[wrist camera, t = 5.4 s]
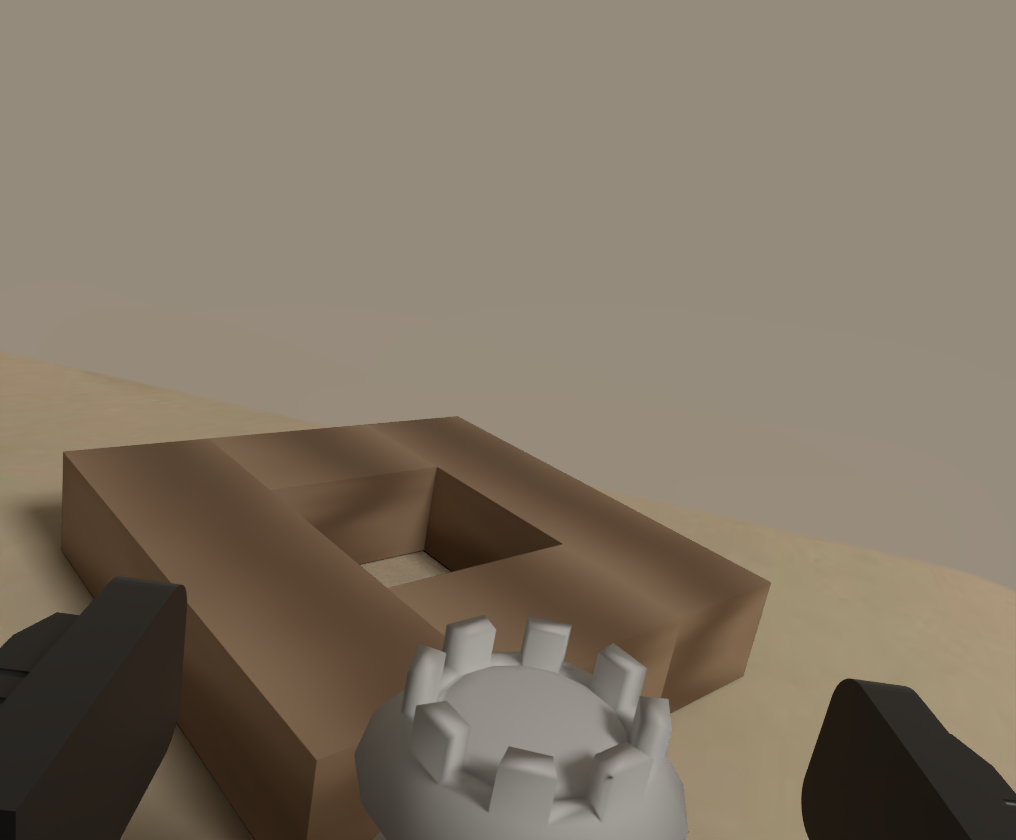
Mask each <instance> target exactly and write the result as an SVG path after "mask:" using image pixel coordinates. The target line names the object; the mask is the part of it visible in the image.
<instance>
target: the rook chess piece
mask: <svg viewBox="0 0 1016 840" xmlns="http://www.w3.org/2000/svg"><path fill="white" fill-rule="evenodd" d="M571 628H572V625H571V624H566V623H561V622H557V621H552V620H548V619H543V618H538V617H534V616H529V615H528V617H527V622H526V627H525V632H524V637H523V642H522V647H521V651H496V652H492V649H493V644H494V639H495V633H496V629H495V627H494V626H493V625H492V624H491V622H490V621H489V620H488V618H487V617H486V616H485V615H482V616H478V617H474V618H470V619H466V620H462V621H458V622H454V623H450V624H447V626H446V632H445V638H444V644H443V649H442V651H439V650H436V649H434V648H431V647H428V646H425V645H422V644H419V646H418V648H417V650H416V653H415V655H414V657H413V660H412V662H411V664H410V667H409V669H408V672H407V678H406V684H405V689H404V690H403V691H401V692H400V693H399V694H397V695H396V696H395V697H393V698H392V699H391V700H389V701H388V702H387V703H385V704H384V705H383V706H382V707H380V708H379V709H378V710H376V711H375V712H374V713H373V714H372V716H371V718H370V720H369V722H368V725H367V727H366V729H365V731H364V733H363V736H362V738H361V740H360V742H359V744H358V747H357V749H356V751H355V753H354V757H355V764H356V772H357V779H358V786H359V794H360V801H361V805H362V806H363V808H364V809H365V810H366V812H367V813H368V815H369V816H370V817H371V819H372V820H373V822H374V823H375V824H376V826H377V827H378V829H379V830H380V831H381V832H380V833H379V834H378V835H377V836H376V837H374V840H685V838H686V836H687V834H688V823H687V815H686V806H685V797H684V789H683V784H682V782H681V780H680V778H679V776H678V774H677V773H676V771H675V769H674V767H673V765H672V763H671V762H670V760H669V758H668V756H667V754H666V751H667V747H668V744H669V740H670V736H671V733H672V727H671V718H670V708H669V699H664V698H654V697H645V696H640V695H641V691H642V687H643V683H644V680H645V676H646V672H647V668H646V667H645V666H643V665H642V664H641V663H639V662H638V661H637V660H635V659H634V658H633V657H631V656H630V655H629V654H627V653H626V652H625V651H623V650H622V649H621V648H619V647H618V646H617V645H615V644H614V643H613V644H611V645H609V646H608V647H606V648H604V649H603V650H601V651H599V652H598V655H597V660H596V664H595V668H594V672H593V674H591V673H589V672H587V671H585V670H583V669H580V668H578V667H576V666H574V665H572V664H570V663H567V662H565V661H564V660H565V656H566V651H567V646H568V642H569V637H570V633H571Z"/></svg>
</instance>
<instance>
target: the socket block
mask: <svg viewBox="0 0 1016 840" xmlns="http://www.w3.org/2000/svg"><path fill="white" fill-rule="evenodd" d="M61 549H62V551H63V552H64V554H65V555H66V557H67V558H68V560H69V561H70V563H71V564H72V566H73V567H74V569H75V570H76V572H77V573H78V575H79V576H80V578H81V579H82V581H83V582H84V584H85V585H86V587H87V588H88V590H89V591H90V593H91V594H92V596H93V597H94V599H95V598H96V597H97V596H98V594H99V593H100V592H101V591H102V590H103V589H104V588H105V586H106V585H107V584H108V583H109V582H110V581H111V580H112V579H113V578H115V577H116V576H124V577H131V578H138V579H145V580H153V581H160V582H167V583H174V584H182V585H184V587H185V588H186V592H187V614H186V629H185V643H184V658H183V672H182V687H181V699H180V707H179V712H178V717H177V721H176V722H177V723H178V725H179V726H180V728H181V729H182V731H183V732H184V734H185V735H186V737H187V738H188V740H189V741H190V743H191V744H192V746H193V747H194V749H195V750H196V752H197V753H198V755H199V756H200V758H201V759H202V761H203V762H204V764H205V765H206V767H207V768H208V770H209V771H210V773H211V774H212V776H213V777H214V779H215V780H216V782H217V783H218V785H219V786H220V788H221V789H222V791H223V792H224V794H225V795H226V797H227V798H228V800H229V801H230V803H231V804H232V806H233V807H234V809H235V810H236V812H237V813H238V815H239V816H240V818H241V819H242V821H243V822H244V824H245V825H246V827H247V828H248V830H249V831H250V833H251V834H252V836H253V837H254V839H255V840H374V837H376V836H377V835H378V834H379V833H380V832H381V831H380V830H379V829H378V827H377V826H376V824H375V823H374V822H373V820H372V819H371V817H370V816H369V815H368V813H367V812H366V810H365V809H364V808H363V806H362V805H361V801H360V794H359V786H358V779H357V772H356V764H355V757H354V753H355V751H356V749H357V747H358V744H359V742H360V740H361V738H362V736H363V733H364V731H365V729H366V727H367V725H368V722H369V720H370V718H371V716H372V714H373V713H374V712H375V711H376V710H378V709H379V708H380V707H382V706H383V705H384V704H385V703H387V702H388V701H389V700H391V699H392V698H393V697H395V696H396V695H397V694H399V693H400V692H401V691H403V690H404V689H405V684H406V678H407V672H408V669H409V667H410V664H411V662H412V660H413V657H414V655H415V653H416V650H417V648H418V646H419V644H422V645H425V646H428V647H431V648H434V649H436V650H439V651H442V649H443V644H444V638H445V632H446V626H447V624H450V623H454V622H458V621H462V620H466V619H470V618H474V617H478V616H482V615H485V616H486V617H487V618H488V620H489V621H490V622H491V624H492V625H493V626H494V627H495V629H496V633H495V639H494V644H493V649H492V652H496V651H521V647H522V642H523V637H524V632H525V627H526V622H527V617H528V615H529V616H534V617H538V618H543V619H548V620H552V621H557V622H561V623H566V624H571V625H572V628H571V633H570V637H569V642H568V646H567V651H566V656H565V660H564V661H565V662H567V663H570V664H572V665H574V666H576V667H578V668H580V669H583V670H585V671H587V672H589V673H591V674H593V672H594V668H595V664H596V660H597V655H598V652H599V651H601V650H603V649H604V648H606V647H608V646H609V645H611V644H613V643H614V644H615V645H617V646H618V647H619V648H621V649H622V650H623V651H625V652H626V653H627V654H629V655H630V656H631V657H633V658H634V659H635V660H637V661H638V662H639V663H641V664H642V665H643V666H645V667H646V668H647V672H646V676H645V680H644V683H643V687H642V691H641V695H640V696H645V697H654V698H664V699H669V708H670V713H672V712H674V711H676V710H678V709H680V708H682V707H684V706H685V705H687V704H689V703H691V702H693V701H695V700H697V699H699V698H701V697H703V696H705V695H707V694H709V693H711V692H713V691H715V690H717V689H719V688H721V687H722V686H724V685H726V684H728V683H730V682H732V681H734V680H736V679H738V678H740V677H742V676H743V675H744V672H745V668H746V665H747V662H748V658H749V655H750V652H751V648H752V645H753V642H754V638H755V635H756V632H757V628H758V625H759V621H760V618H761V615H762V611H763V608H764V605H765V601H766V598H767V595H768V591H769V588H770V585H771V582H769V581H767V580H765V579H763V578H762V577H760V576H758V575H756V574H754V573H752V572H750V571H748V570H746V569H745V568H743V567H741V566H739V565H737V564H735V563H733V562H731V561H729V560H728V559H726V558H724V557H722V556H720V555H718V554H716V553H714V552H713V551H711V550H709V549H707V548H705V547H703V546H701V545H699V544H697V543H696V542H694V541H692V540H690V539H688V538H686V537H684V536H682V535H680V534H679V533H677V532H675V531H673V530H671V529H669V528H667V527H665V526H663V525H662V524H660V523H658V522H656V521H654V520H652V519H650V518H648V517H647V516H645V515H643V514H641V513H639V512H637V511H635V510H633V509H631V508H630V507H628V506H626V505H624V504H622V503H620V502H618V501H616V500H614V499H613V498H611V497H609V496H607V495H605V494H603V493H601V492H599V491H598V490H596V489H594V488H592V487H590V486H588V485H586V484H584V483H582V482H581V481H579V480H577V479H575V478H573V477H571V476H569V475H567V474H565V473H564V472H561V471H560V470H558V469H556V468H554V467H552V466H550V465H549V464H547V463H545V462H543V461H541V460H539V459H537V458H535V457H533V456H532V455H530V454H528V453H526V452H524V451H522V450H520V449H518V448H516V447H515V446H513V445H511V444H509V443H507V442H505V441H503V440H501V439H499V438H497V437H496V436H494V435H492V434H490V433H488V432H486V431H484V430H483V429H480V428H479V427H477V426H475V425H473V424H471V423H469V422H467V421H465V420H464V419H462V418H460V417H458V416H456V417H446V418H435V419H423V420H411V421H400V422H389V423H378V424H368V425H356V426H344V427H333V428H322V429H311V430H300V431H289V432H277V433H266V434H255V435H244V436H233V437H222V438H211V439H199V440H188V441H177V442H166V443H155V444H144V445H133V446H121V447H110V448H99V449H88V450H77V451H66V452H63V492H62V545H61ZM422 550H424V551H426V552H427V553H428V554H430V555H431V556H432V557H434V558H435V559H436V560H438V561H439V562H440V563H442V564H443V565H445V566H446V567H447V568H449V569H450V570H451V571H453V572H450V573H446V574H442V575H438V576H434V577H430V578H426V579H422V580H418V581H414V582H410V583H406V584H402V585H398V586H394V587H390V588H386V587H385V586H384V585H383V584H382V583H380V582H379V581H378V580H377V579H376V578H374V577H373V576H372V575H371V574H370V573H369V572H367V571H366V570H365V569H364V568H363V567H361V566H360V565H359V564H363V563H368V562H372V561H377V560H381V559H386V558H391V557H395V556H400V555H404V554H409V553H413V552H418V551H422Z"/></svg>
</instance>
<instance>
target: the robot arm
mask: <svg viewBox="0 0 1016 840" xmlns="http://www.w3.org/2000/svg"><path fill="white" fill-rule="evenodd" d="M186 614H187V592H186V588H185V587H184V585H182V584H174V583H167V582H160V581H153V580H145V579H138V578H131V577H124V576H116V577H115V578H113V579H112V580H111V581H110V582H109V583H108V584H107V585H106V586H105V588H104V589H103V590H102V591H101V592H100V593H99V594H98V596H97V597H96V598H95V599H94V600H93V601H92V602H91V603H90V605H89V606H88V607H87V608H86V609H85V610H84V611H83V613H82V614H81V615H73V614H65V613H58V612H57V613H55V614H53V615H51V616H49V617H47V618H45V619H43V620H41V621H39V622H38V623H36V624H34V625H32V626H30V627H28V628H26V629H24V630H22V631H20V632H18V633H16V634H14V635H13V636H12V637H11V638H10V639H9V640H8V641H7V642H6V643H5V644H4V645H3V646H2V647H1V648H0V840H120V838H121V836H122V834H123V833H124V831H125V829H126V827H127V825H128V823H129V821H130V819H131V818H132V816H133V814H134V812H135V810H136V808H137V806H138V804H139V803H140V801H141V799H142V797H143V795H144V793H145V791H146V789H147V788H148V786H149V784H150V782H151V780H152V778H153V776H154V774H155V773H156V771H157V769H158V767H159V765H160V763H161V761H162V759H163V758H164V756H165V754H166V751H167V749H168V747H169V744H170V741H171V739H172V735H173V732H174V729H175V725H176V721H177V717H178V712H179V707H180V699H181V687H182V672H183V658H184V643H185V629H186ZM801 805H802V816H803V822H804V826H805V830H806V833H807V835H808V838H809V840H1016V793H1015V792H1014V791H1013V790H1012V789H1011V787H1010V786H1009V785H1008V784H1007V783H1006V781H1005V780H1004V779H1003V778H1002V777H1001V775H1000V774H999V773H998V772H997V771H996V770H995V768H994V767H993V766H992V765H991V764H989V763H988V762H987V761H985V760H984V759H983V758H982V757H980V756H979V755H978V754H976V753H975V752H974V751H973V750H971V749H970V748H969V747H967V746H966V745H965V744H964V743H962V742H961V741H960V740H958V739H957V738H956V737H954V736H953V735H952V734H949V732H948V731H947V730H946V729H945V728H944V726H943V725H942V724H941V723H940V721H939V720H938V719H937V718H936V716H935V715H934V714H933V713H932V712H931V710H930V709H929V708H928V707H927V705H926V704H925V703H924V702H923V700H922V699H921V698H920V697H919V696H918V694H917V693H916V692H915V691H914V690H912V689H911V688H909V687H906V686H900V685H893V684H886V683H878V682H871V681H864V680H857V679H845V680H843V681H842V682H840V683H839V684H838V686H837V687H836V689H835V691H834V693H833V695H832V698H831V701H830V704H829V707H828V710H827V713H826V716H825V719H824V722H823V725H822V728H821V731H820V734H819V736H818V739H817V742H816V745H815V748H814V751H813V754H812V757H811V760H810V763H809V766H808V769H807V772H806V775H805V778H804V782H803V787H802V798H801Z"/></svg>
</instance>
